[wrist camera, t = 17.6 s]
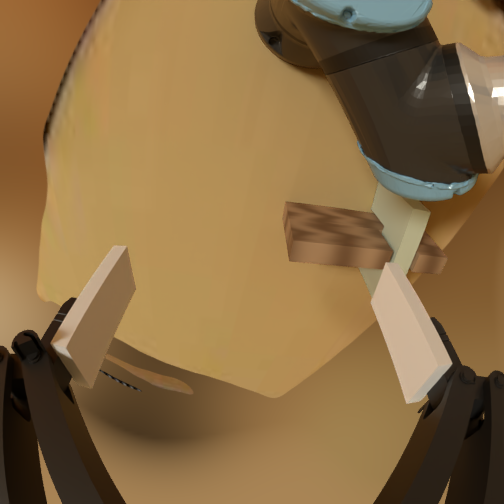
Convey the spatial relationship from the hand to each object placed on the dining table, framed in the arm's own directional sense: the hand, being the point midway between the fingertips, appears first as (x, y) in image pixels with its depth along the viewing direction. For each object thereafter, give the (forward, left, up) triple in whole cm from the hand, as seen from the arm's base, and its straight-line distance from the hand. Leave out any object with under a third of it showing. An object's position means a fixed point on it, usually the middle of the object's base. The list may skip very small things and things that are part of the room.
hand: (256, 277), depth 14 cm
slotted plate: (+10, +21, -31) cm, 38 cm away
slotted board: (+10, +17, -31) cm, 36 cm away
